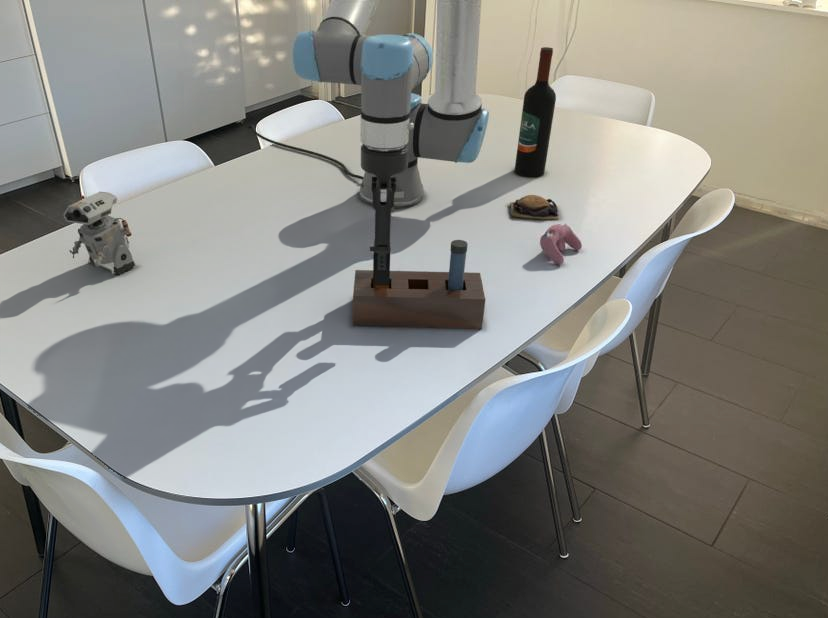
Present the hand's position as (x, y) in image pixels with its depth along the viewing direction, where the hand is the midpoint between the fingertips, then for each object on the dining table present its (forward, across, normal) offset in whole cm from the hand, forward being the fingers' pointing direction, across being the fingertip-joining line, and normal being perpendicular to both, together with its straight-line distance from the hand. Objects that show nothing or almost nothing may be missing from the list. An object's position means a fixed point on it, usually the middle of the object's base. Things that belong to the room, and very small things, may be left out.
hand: (381, 265), depth 126 cm
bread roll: (+10, +46, -34) cm, 58 cm away
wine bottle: (+10, +71, -37) cm, 81 cm away
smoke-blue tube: (+9, 0, -13) cm, 16 cm away
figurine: (+10, +14, +55) cm, 58 cm away
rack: (+9, 0, -6) cm, 12 cm away
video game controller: (+10, +25, -36) cm, 45 cm away
